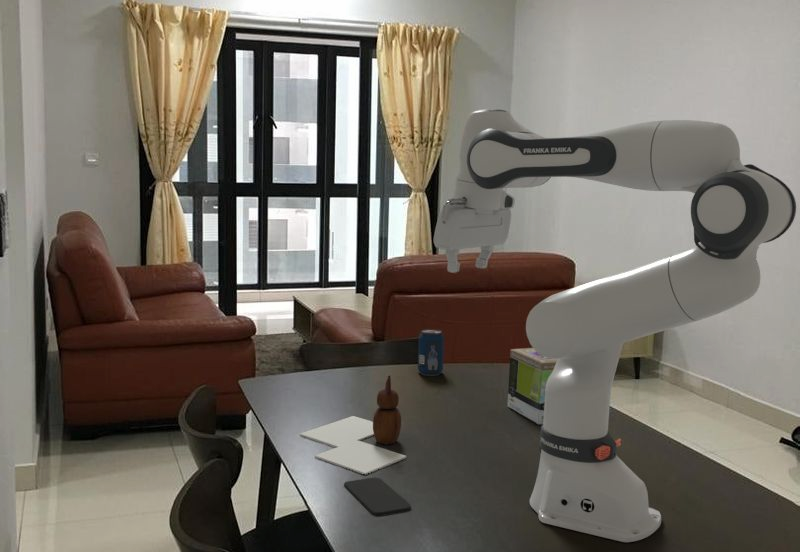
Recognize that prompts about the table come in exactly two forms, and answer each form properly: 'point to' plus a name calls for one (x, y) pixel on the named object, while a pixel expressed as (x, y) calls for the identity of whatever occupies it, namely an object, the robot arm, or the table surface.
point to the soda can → (430, 352)
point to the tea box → (529, 382)
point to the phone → (377, 496)
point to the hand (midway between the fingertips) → (467, 269)
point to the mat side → (360, 457)
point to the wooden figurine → (387, 416)
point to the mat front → (341, 431)
